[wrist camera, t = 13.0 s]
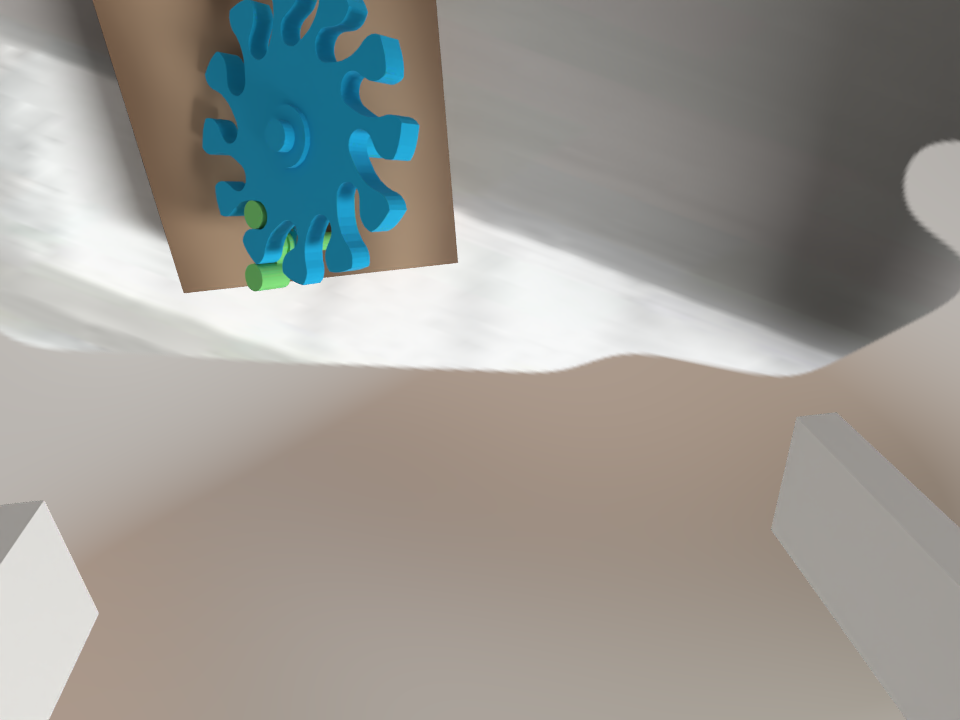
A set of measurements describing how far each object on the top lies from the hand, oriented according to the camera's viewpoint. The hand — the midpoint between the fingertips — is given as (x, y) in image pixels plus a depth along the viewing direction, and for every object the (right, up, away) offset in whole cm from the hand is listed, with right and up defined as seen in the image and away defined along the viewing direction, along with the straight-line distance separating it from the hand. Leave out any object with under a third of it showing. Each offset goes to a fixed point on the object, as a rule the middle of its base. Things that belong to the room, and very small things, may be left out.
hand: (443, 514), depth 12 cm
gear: (-6, +12, +14) cm, 20 cm away
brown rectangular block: (-7, +14, +17) cm, 23 cm away
